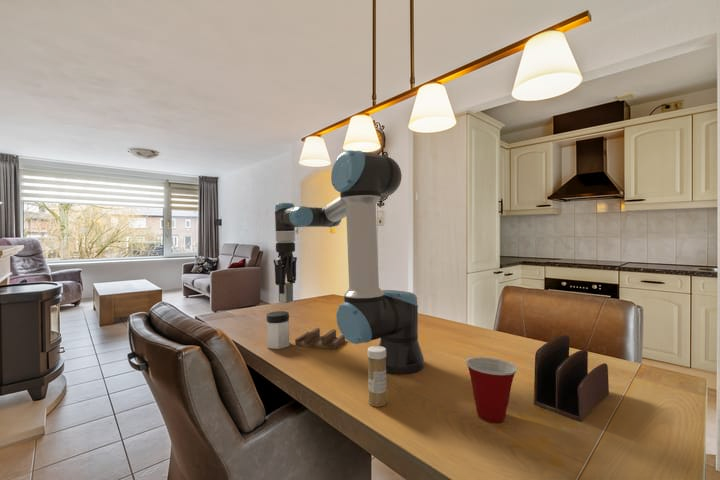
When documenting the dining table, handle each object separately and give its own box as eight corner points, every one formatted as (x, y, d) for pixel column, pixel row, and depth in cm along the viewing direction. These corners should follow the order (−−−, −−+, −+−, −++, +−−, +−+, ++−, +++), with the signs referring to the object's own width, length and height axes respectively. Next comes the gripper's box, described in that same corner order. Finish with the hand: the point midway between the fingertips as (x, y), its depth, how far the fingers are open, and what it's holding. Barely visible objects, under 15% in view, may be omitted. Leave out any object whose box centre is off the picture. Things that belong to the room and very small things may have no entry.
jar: (273, 351, 120) (272, 317, 120) (262, 345, 126) (261, 313, 126) (294, 345, 126) (294, 313, 126) (283, 340, 132) (282, 309, 132)
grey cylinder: (293, 300, 137) (292, 281, 136) (287, 302, 133) (287, 283, 133) (284, 299, 138) (284, 281, 138) (278, 301, 134) (278, 282, 134)
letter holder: (533, 405, 80) (533, 346, 80) (565, 381, 93) (565, 330, 93) (581, 423, 73) (580, 358, 72) (609, 394, 85) (609, 338, 85)
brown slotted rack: (345, 340, 130) (344, 330, 130) (334, 349, 121) (334, 338, 121) (307, 337, 136) (307, 327, 135) (295, 345, 126) (295, 334, 126)
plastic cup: (524, 414, 76) (524, 361, 76) (508, 436, 68) (507, 377, 68) (477, 398, 84) (477, 350, 83) (457, 417, 76) (457, 364, 75)
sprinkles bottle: (367, 398, 85) (366, 345, 84) (385, 397, 85) (384, 344, 85) (369, 408, 80) (368, 351, 80) (388, 407, 80) (387, 351, 80)
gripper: (288, 241, 144) (289, 296, 145) (264, 242, 128) (265, 304, 129) (304, 241, 141) (305, 297, 142) (281, 242, 125) (282, 305, 126)
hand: (286, 300), depth 135 cm, fingers closed on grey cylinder, 4 cm apart
